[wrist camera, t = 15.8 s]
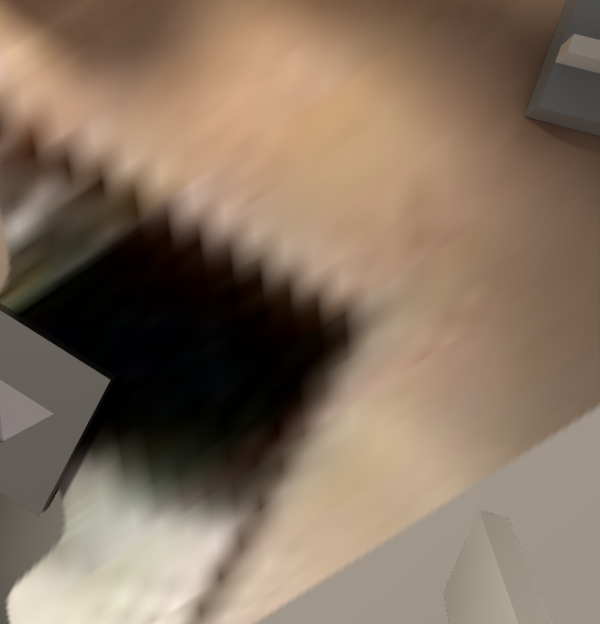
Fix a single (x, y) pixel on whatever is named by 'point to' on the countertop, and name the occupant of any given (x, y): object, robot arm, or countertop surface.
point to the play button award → (42, 409)
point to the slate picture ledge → (571, 71)
